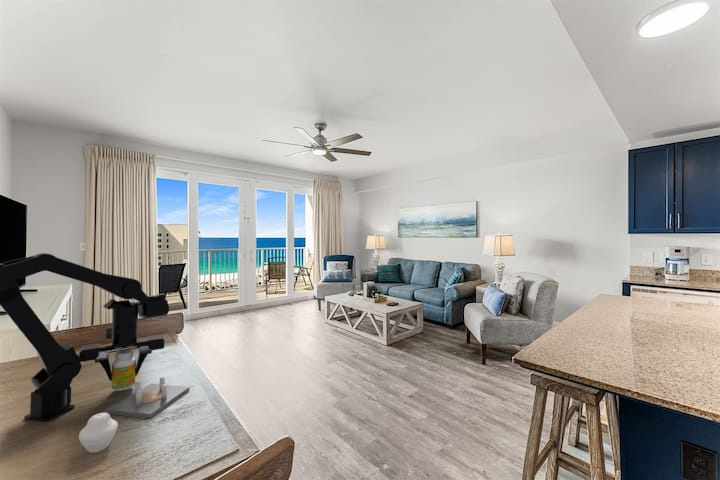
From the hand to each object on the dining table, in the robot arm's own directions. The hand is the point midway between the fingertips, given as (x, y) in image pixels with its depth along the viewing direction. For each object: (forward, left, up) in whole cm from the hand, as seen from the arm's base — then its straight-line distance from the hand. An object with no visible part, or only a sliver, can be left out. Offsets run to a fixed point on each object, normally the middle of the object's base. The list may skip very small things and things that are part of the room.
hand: (123, 377), depth 88 cm
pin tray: (-4, -12, -4) cm, 13 cm away
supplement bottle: (0, 0, -3) cm, 3 cm away
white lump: (-22, -16, -4) cm, 27 cm away
